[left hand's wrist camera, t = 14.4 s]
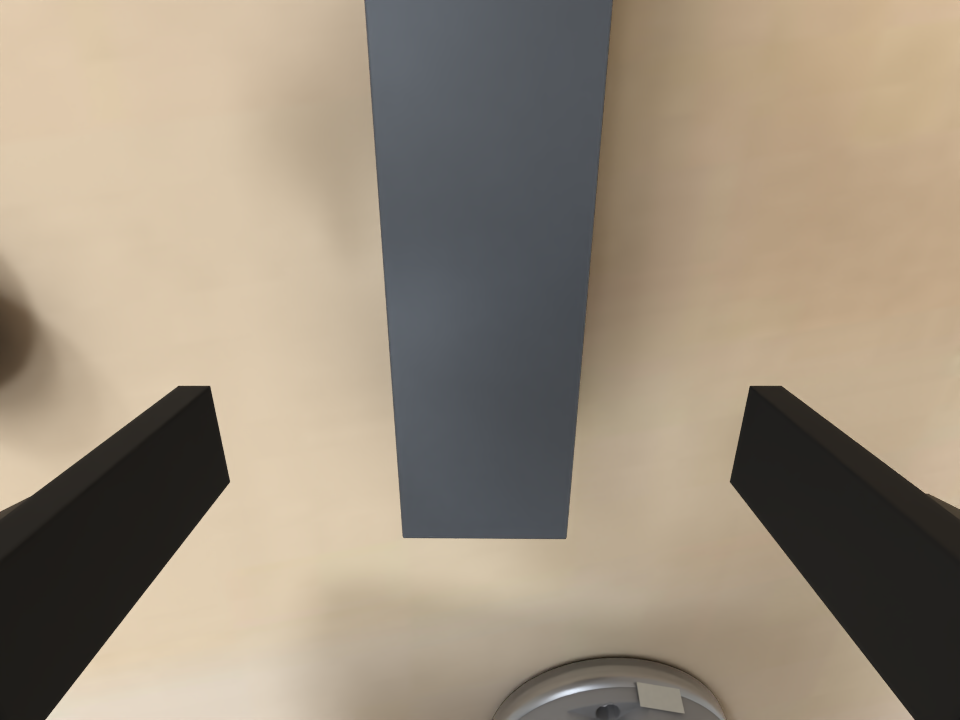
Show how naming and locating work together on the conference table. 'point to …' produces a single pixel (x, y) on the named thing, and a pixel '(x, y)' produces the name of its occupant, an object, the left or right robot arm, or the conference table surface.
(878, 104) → the conference table surface
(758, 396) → the left robot arm
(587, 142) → the bar
